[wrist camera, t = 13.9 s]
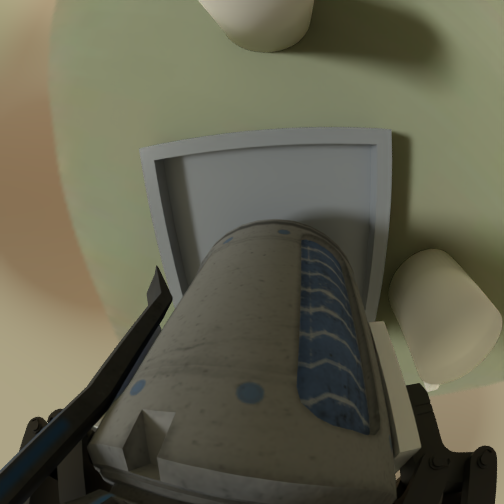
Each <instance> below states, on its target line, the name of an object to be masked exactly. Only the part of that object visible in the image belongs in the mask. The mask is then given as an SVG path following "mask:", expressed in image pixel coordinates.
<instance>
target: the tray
mask: <svg viewBox="0 0 504 504" xmlns="http://www.w3.org/2000/svg"><path fill="white" fill-rule="evenodd" d="M139 151H140V157H141V163H142V169H143V175H144V181H145V186H146V192H147V197H148V202H149V207H150V212H151V217H152V221H153V226H154V230H155V235H156V239H157V243H158V247H159V252H160V256H161V260H162V264H163V267H164V271H165V275H166V279H167V282H168V286H169V290H170V293H171V295H172V297H173V303H174V307H175V308H176V307H177V305H178V303H179V302H180V300H181V299H182V297H183V296H184V294H185V293H186V291H187V289H188V288H189V286H190V285H191V283H192V282H193V280H194V279H195V277H196V274H197V272H198V270H199V267H200V265H201V263H202V261H203V259H204V258H205V256H206V255H207V254H208V252H209V251H210V249H211V248H212V247H213V245H214V244H215V243H216V242H217V241H218V240H219V239H220V238H221V237H223V236H224V235H225V234H226V233H227V232H229V231H231V230H233V229H235V228H237V227H239V226H241V225H243V224H247V223H250V222H254V221H257V220H267V219H282V220H292V221H296V222H299V223H302V224H306V225H309V226H311V227H313V228H315V229H317V230H319V231H320V232H322V233H324V234H326V235H327V236H328V237H329V238H330V239H332V240H333V241H334V242H335V243H336V244H337V245H338V246H339V247H340V249H341V250H342V251H343V252H344V254H345V255H346V256H347V258H348V261H349V263H350V265H351V267H352V269H353V272H354V276H355V279H356V282H357V285H358V289H359V292H360V296H361V299H362V303H363V306H364V310H365V313H366V317H367V321H368V323H369V322H375V319H376V314H377V309H378V304H379V299H380V293H381V287H382V281H383V274H384V267H385V260H386V252H387V243H388V233H389V221H390V207H391V186H392V134H391V129H378V128H355V127H305V128H282V129H267V130H255V131H244V132H234V133H226V134H218V135H211V136H204V137H197V138H191V139H185V140H179V141H173V142H168V143H163V144H158V145H153V146H148V147H144V148H139Z"/></svg>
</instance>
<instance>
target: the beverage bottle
mask: <svg viewBox="0 0 504 504" xmlns="http://www.w3.org/2000/svg"><path fill="white" fill-rule="evenodd" d="M147 300H148V307H147V308H146V309H145V310H144V312H143V313H142V314H141V315H140V317H139V318H138V319H137V321H136V322H135V323H134V324H133V326H132V327H131V328H130V330H129V331H128V332H127V333H126V335H125V336H124V337H123V339H122V340H121V341H120V342H119V344H118V345H117V347H116V348H115V349H114V351H113V352H112V353H111V354H110V356H109V357H108V358H107V360H106V361H105V362H104V364H103V365H102V366H101V368H100V369H99V370H98V372H97V373H96V375H95V376H94V378H93V379H92V380H91V381H90V383H89V384H88V386H87V387H86V388H85V389H84V390H83V391H82V392H81V393H80V394H79V395H78V396H77V397H76V398H75V399H73V400H72V401H71V402H70V403H69V404H68V405H67V406H66V407H65V408H64V409H63V410H62V411H61V412H60V413H59V414H58V415H57V416H56V417H54V418H53V419H52V420H51V421H50V422H49V423H48V424H47V425H46V426H45V427H44V428H43V429H42V430H41V431H40V432H39V433H38V434H37V435H36V436H35V437H34V438H33V439H32V440H31V441H30V442H29V443H28V444H27V445H26V446H25V447H24V448H23V449H21V450H20V451H19V453H17V454H16V455H15V456H14V457H13V458H12V459H11V460H10V461H9V462H8V463H7V464H6V465H5V466H4V467H3V468H2V469H1V470H0V504H24V503H25V502H26V501H27V499H28V498H29V497H30V496H31V495H32V494H33V493H34V492H35V491H36V489H37V488H38V487H39V486H40V485H41V484H42V483H43V482H44V481H45V479H46V478H47V477H48V476H49V475H50V474H51V473H52V472H53V471H54V469H55V468H56V467H57V466H58V465H59V464H60V463H61V462H62V461H63V460H64V458H65V457H66V456H67V455H68V454H69V453H70V452H71V451H72V450H73V448H74V447H75V446H76V445H77V444H78V443H79V442H80V441H81V440H82V438H83V437H84V436H85V435H86V434H87V433H88V432H89V431H90V430H91V429H92V427H93V426H94V425H95V424H96V423H97V422H98V421H99V420H100V419H101V417H102V416H103V415H104V414H105V413H106V414H105V416H104V417H103V419H102V421H101V423H100V424H99V426H98V428H97V430H96V431H95V433H94V435H93V437H92V439H91V440H90V442H89V444H88V446H87V450H88V453H89V455H90V458H91V460H92V463H93V465H94V467H95V469H96V470H97V471H98V472H99V473H100V474H101V476H102V478H103V479H104V480H105V481H106V482H107V483H108V484H109V485H111V486H112V488H111V490H110V492H107V491H104V490H101V489H99V490H97V491H94V492H92V493H89V494H87V495H84V496H82V497H79V498H77V499H74V500H71V501H68V502H66V503H63V504H394V501H395V500H396V499H397V493H396V478H395V467H394V457H393V448H392V440H391V433H390V426H389V419H388V413H387V407H386V401H385V396H384V391H383V385H382V380H381V376H380V371H379V366H378V362H377V357H376V353H375V349H374V344H373V340H372V336H371V332H370V328H369V325H368V321H367V317H366V313H365V310H364V306H363V303H362V299H361V296H360V292H359V289H358V285H357V282H356V279H355V276H354V272H353V269H352V267H351V265H350V263H349V261H348V258H347V256H346V255H345V254H344V252H343V251H342V250H341V249H340V247H339V246H338V245H337V244H336V243H335V242H334V241H333V240H332V239H330V238H329V237H328V236H327V235H326V234H324V233H322V232H320V231H319V230H317V229H315V228H313V227H311V226H309V225H306V224H302V223H299V222H296V221H292V220H282V219H267V220H257V221H254V222H250V223H247V224H243V225H241V226H239V227H237V228H235V229H233V230H231V231H229V232H227V233H226V234H225V235H224V236H223V237H221V238H220V239H219V240H218V241H217V242H216V243H215V244H214V245H213V247H212V248H211V249H210V251H209V252H208V254H207V255H206V256H205V258H204V259H203V261H202V263H201V265H200V267H199V270H198V272H197V274H196V277H195V279H194V280H193V282H192V283H191V285H190V286H189V288H188V289H187V291H186V293H185V294H184V296H183V297H182V299H181V300H180V302H179V303H178V305H177V307H176V308H175V310H174V311H173V313H172V315H171V316H170V318H169V319H168V321H167V323H166V324H165V326H164V327H163V329H162V331H161V332H160V334H159V335H158V337H157V339H156V340H155V342H154V344H153V345H152V347H151V348H150V350H149V352H148V353H147V355H146V357H145V358H144V360H143V362H142V363H141V365H140V367H139V368H138V370H137V372H136V373H135V375H134V377H133V378H132V380H131V382H130V383H129V385H128V386H127V387H126V389H125V390H124V392H123V393H122V394H121V395H120V396H119V397H118V398H117V399H116V400H115V401H114V399H115V397H116V395H117V394H118V392H119V390H120V389H121V387H122V385H123V383H124V382H125V380H126V378H127V377H128V375H129V373H130V372H131V370H132V368H133V367H134V365H135V363H136V362H137V360H138V358H139V357H140V355H141V353H142V352H143V350H144V348H145V347H146V345H147V344H148V342H149V340H150V339H151V337H152V335H153V334H154V332H155V331H156V329H157V327H158V326H159V324H160V323H161V321H162V320H163V318H164V316H165V314H166V312H167V310H168V308H169V306H170V304H171V302H172V300H173V297H172V295H171V293H170V291H169V289H168V287H167V285H166V282H165V280H164V278H163V276H162V274H161V272H160V270H159V268H158V267H157V265H156V270H155V275H154V277H153V280H152V282H151V284H150V287H149V289H148V292H147ZM113 401H114V402H113ZM112 402H113V404H112ZM111 404H112V405H111ZM110 406H111V407H110ZM108 409H109V410H108Z"/></svg>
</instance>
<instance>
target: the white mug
mask: <svg viewBox="0 0 504 504" xmlns="http://www.w3.org/2000/svg"><path fill="white" fill-rule="evenodd" d="M388 295H389V302H390V305H391V307H392V310H393V312H394V314H395V316H396V319H397V321H398V323H399V326H400V328H401V331H402V333H403V335H404V338H405V340H406V343H407V345H408V348H409V350H410V353H411V356H412V358H413V361H414V364H415V366H416V369H417V372H418V375H419V377H420V378H421V380H422V381H424V384H425V387H426V390H427V392H428V391H433V390H437V389H438V387H439V385H440V384H444V383H448V382H451V381H454V380H456V379H458V378H460V377H462V376H464V375H466V374H467V373H469V372H470V371H472V370H473V369H474V368H475V367H477V366H478V365H479V364H480V363H481V362H482V361H483V360H484V359H485V358H486V357H487V356H488V354H489V353H490V352H491V350H492V349H493V347H494V346H495V344H496V342H497V340H498V338H499V336H500V333H501V329H502V317H501V314H500V312H499V311H498V310H497V308H496V307H495V306H494V305H493V303H492V302H491V301H490V300H489V298H488V297H487V296H486V295H485V294H484V292H483V291H482V290H481V289H480V288H479V287H478V285H477V284H476V283H475V282H474V281H473V280H472V279H471V278H470V276H469V275H468V274H467V273H466V272H465V271H464V270H463V269H462V268H461V267H460V266H459V264H458V263H457V262H456V261H455V260H454V259H453V258H452V257H451V256H450V255H449V254H448V253H446V252H444V251H442V250H439V249H427V250H423V251H420V252H418V253H416V254H414V255H412V256H411V257H410V258H408V259H407V260H406V261H405V262H404V263H403V264H402V265H401V266H400V267H399V268H398V270H397V271H396V273H395V274H394V276H393V278H392V280H391V283H390V287H389V293H388Z"/></svg>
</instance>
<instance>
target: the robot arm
mask: <svg viewBox="0 0 504 504" xmlns="http://www.w3.org/2000/svg"><path fill="white" fill-rule="evenodd" d="M368 325H369V328H370V332H371V336H372V340H373V344H374V349H375V353H376V357H377V362H378V366H379V371H380V376H381V380H382V385H383V391H384V396H385V401H386V407H387V413H388V419H389V426H390V433H391V440H392V448H393V457H394V467H395V473H396V472H397V471H399V470H400V474H401V476H400V477H399V478H398V479H397V480H396V493H397V499H396V500H395V501H394V504H495V496H496V495H495V494H496V482H497V456H496V452H495V451H494V449H493V448H491V447H490V446H482V447H479V448H478V449H477V450H475V451H474V452H466V453H465V452H463V453H462V452H460V453H458V452H452V451H450V450H448V449H447V448H446V447H445V446H444V445H443V443H442V440H441V437H440V433H439V429H438V426H437V422H436V419H435V416H434V413H433V409H432V406H431V404H430V399H429V396H428V393H427V391H426V390H425V389H424V388H423V386H422V385H421V384H420V383H417V384H412V385H405V382H404V379H403V375H402V372H401V369H400V366H399V363H398V360H397V357H396V354H395V351H394V348H393V345H392V342H391V339H390V336H389V334H388V331H387V328H386V326H385V323H384V321H379V322H369V323H368ZM161 331H162V330H161V327H160V325H159V326H158V327H157V329H156V331H155V332H154V334H153V335H152V337H151V339H150V340H149V342H148V344H147V345H146V347H145V348H144V350H143V352H142V353H141V355H140V357H139V358H138V360H137V362H136V363H135V365H134V367H133V368H132V370H131V372H130V373H129V375H128V377H127V378H126V380H125V382H124V383H123V385H122V387H121V389H120V390H119V392H118V394H117V395H116V397H115V399H114V401H115V400H116V399H117V398H118V397H119V396H120V395H121V394H122V393H123V392H124V390H125V389H126V387H127V386H128V385H129V383H130V382H131V380H132V378H133V377H134V375H135V373H136V372H137V370H138V368H139V367H140V365H141V363H142V362H143V360H144V358H145V357H146V355H147V353H148V352H149V350H150V348H151V347H152V345H153V344H154V342H155V340H156V339H157V337H158V335H159V334H160V332H161ZM114 401H113V402H114ZM113 402H112V404H113ZM112 404H111V405H112ZM110 407H111V406H110ZM62 410H63V409H58V410H55V411H54V412H52V413H51V414H50V416H49V417H48V421H47V422H48V423H49V422H50V421H51V420H52V419H53V418H54V417H56V416H57V415H58V414H59V413H60V412H61V411H62ZM108 410H109V409H108ZM105 414H106V413H105ZM105 414H104V415H103V416H102V417H101V419H100V420H99V421H98V422H97V423H96V424H95V425H94V426H93V427H92V429H91V430H90V431H89V432H88V433H87V434H86V435H85V436H84V437H83V438H82V440H81V441H80V442H79V443H78V444H77V445H76V446H75V447H74V448H73V450H72V451H71V452H70V453H69V454H68V455H67V456H66V457H65V458H64V460H63V461H62V462H61V463H60V464H59V465H58V466H57V467H56V468H55V469H54V471H53V472H52V473H51V474H50V475H49V476H48V477H47V478H46V479H45V481H44V482H43V483H42V484H41V485H40V486H39V487H38V488H37V489H36V491H35V492H34V493H33V494H32V495H31V496H30V497H29V498H28V499H27V501H26V502H25V503H24V504H63V503H66V502H68V501H71V500H74V499H77V498H79V497H82V496H84V495H87V494H89V493H92V492H94V491H97V490H99V489H101V490H104V491H107V492H110V490H111V488H112V486H111V485H109V484H108V483H107V482H106V481H105V480H104V479H103V478H102V476H101V474H100V473H99V472H98V471H97V470H96V469H95V467H94V465H93V463H92V460H91V458H90V455H89V453H88V450H87V446H88V444H89V442H90V440H91V439H92V437H93V435H94V433H95V431H96V430H97V428H98V426H99V424H100V423H101V421H102V419H103V417H104V416H105ZM47 422H46V421H45V420H44V419H43V418H41V417H35V418H33V419H31V420H30V421H29V423H28V425H27V428H26V431H25V434H24V437H23V440H22V444H21V447H20V450H21V449H23V448H24V447H25V446H26V445H27V444H28V443H29V442H30V441H31V440H32V439H33V438H34V437H35V436H36V435H37V434H38V433H39V432H40V431H41V430H42V429H43V428H44V427H45V426H46V425H47V424H48V423H47ZM20 450H19V451H20Z"/></svg>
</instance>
